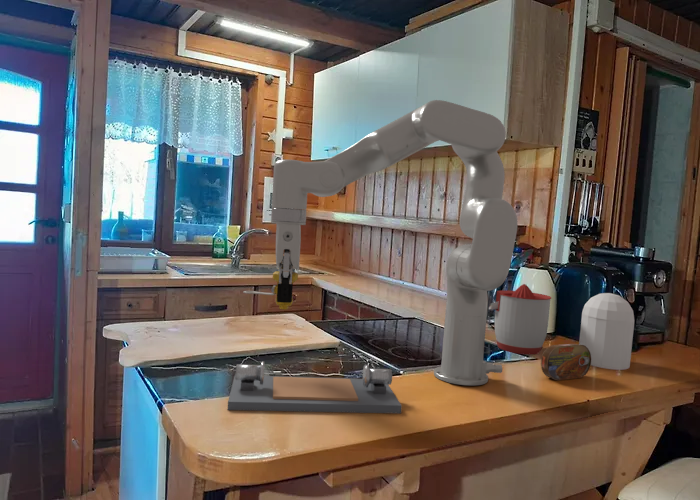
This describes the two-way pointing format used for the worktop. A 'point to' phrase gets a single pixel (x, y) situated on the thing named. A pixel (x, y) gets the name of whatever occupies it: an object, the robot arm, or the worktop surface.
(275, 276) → the pressure relief valve
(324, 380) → the pipe rig base
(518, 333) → the citrus juicer
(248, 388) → the pipe stubs
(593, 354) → the container
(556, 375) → the tin
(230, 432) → the worktop surface
